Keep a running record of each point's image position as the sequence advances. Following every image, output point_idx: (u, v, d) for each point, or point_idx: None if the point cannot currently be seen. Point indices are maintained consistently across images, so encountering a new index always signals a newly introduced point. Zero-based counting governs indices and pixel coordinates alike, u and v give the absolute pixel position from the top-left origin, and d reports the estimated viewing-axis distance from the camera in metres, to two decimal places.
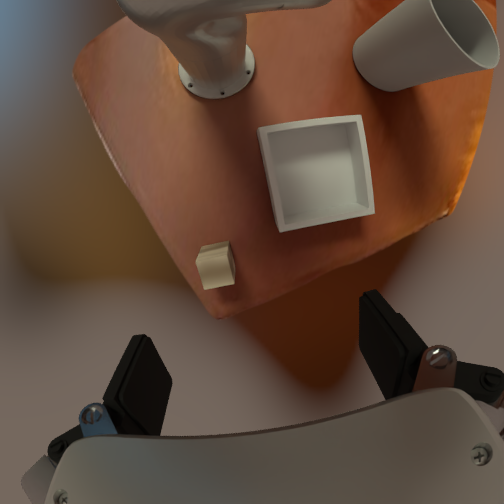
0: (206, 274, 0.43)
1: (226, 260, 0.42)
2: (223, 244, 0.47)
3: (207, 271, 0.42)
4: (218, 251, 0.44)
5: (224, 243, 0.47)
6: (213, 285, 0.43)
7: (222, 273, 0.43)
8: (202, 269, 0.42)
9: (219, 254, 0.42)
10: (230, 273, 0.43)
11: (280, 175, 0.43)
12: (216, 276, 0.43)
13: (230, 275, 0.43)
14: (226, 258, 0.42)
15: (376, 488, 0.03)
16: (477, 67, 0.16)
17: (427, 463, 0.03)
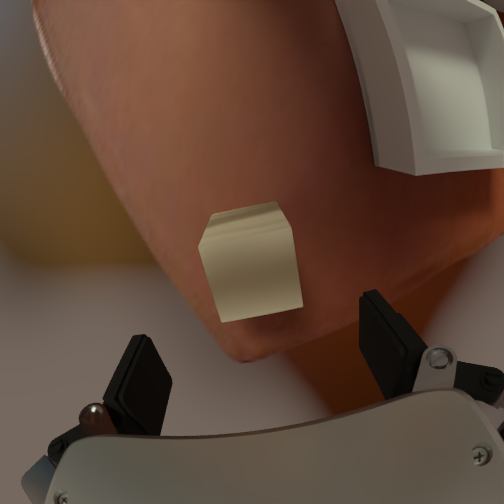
0: (228, 284, 0.15)
1: (288, 243, 0.14)
2: (265, 208, 0.19)
3: (230, 274, 0.15)
4: (259, 220, 0.17)
5: (267, 205, 0.20)
6: (246, 313, 0.16)
7: (275, 279, 0.15)
8: (217, 268, 0.15)
9: (265, 227, 0.15)
10: (296, 280, 0.15)
11: None
12: (257, 287, 0.15)
13: (295, 285, 0.15)
14: (289, 237, 0.14)
15: (376, 488, 0.03)
16: None
17: (427, 463, 0.03)
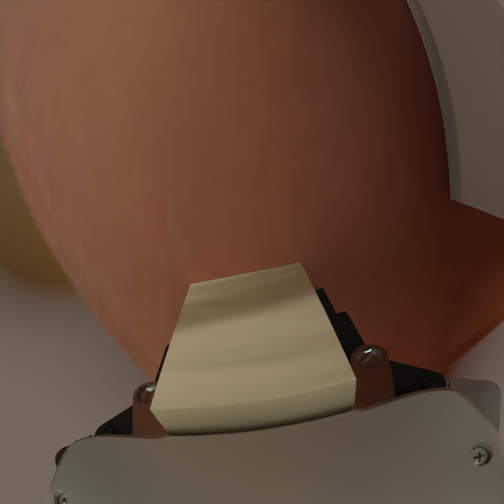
0: None
1: (344, 403, 0.06)
2: (286, 283, 0.10)
3: None
4: (277, 330, 0.08)
5: (287, 275, 0.11)
6: None
7: None
8: None
9: (294, 367, 0.06)
10: None
11: None
12: None
13: None
14: (347, 394, 0.06)
15: (376, 488, 0.03)
16: None
17: (427, 463, 0.03)
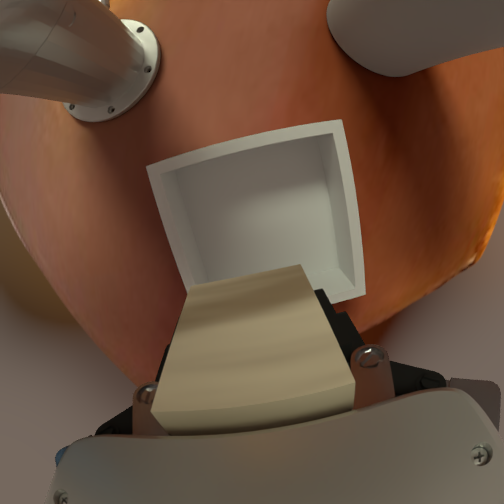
0: None
1: (343, 405, 0.06)
2: (285, 285, 0.10)
3: None
4: (277, 333, 0.08)
5: (287, 277, 0.11)
6: None
7: None
8: None
9: (293, 369, 0.06)
10: None
11: (207, 234, 0.27)
12: None
13: None
14: (346, 397, 0.06)
15: (376, 488, 0.03)
16: None
17: (427, 463, 0.03)
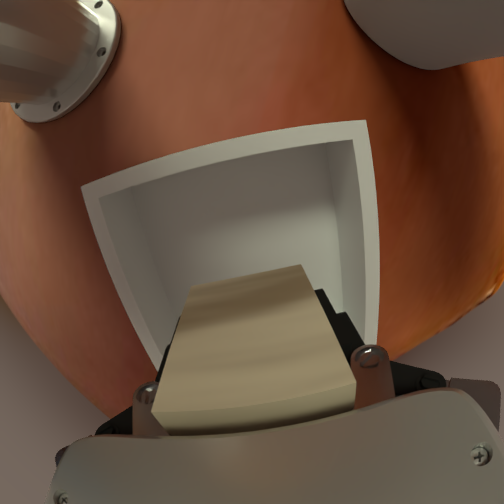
0: None
1: (344, 405, 0.06)
2: (286, 285, 0.10)
3: None
4: (278, 333, 0.08)
5: (287, 277, 0.11)
6: None
7: None
8: None
9: (294, 370, 0.06)
10: None
11: (173, 270, 0.20)
12: None
13: None
14: (347, 397, 0.06)
15: (376, 488, 0.03)
16: None
17: (427, 463, 0.03)
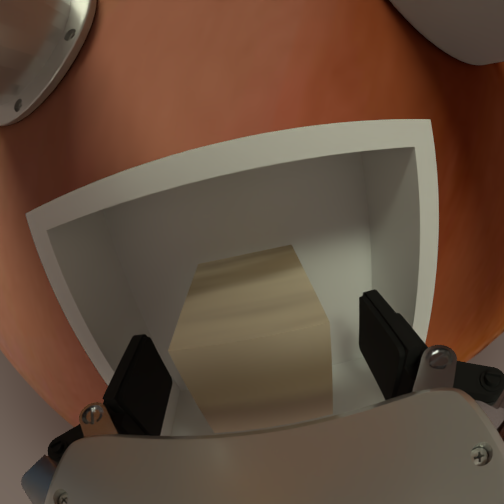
0: (221, 397, 0.09)
1: (322, 345, 0.08)
2: (278, 260, 0.13)
3: (225, 386, 0.08)
4: (270, 292, 0.10)
5: (279, 254, 0.13)
6: (249, 425, 0.09)
7: (295, 390, 0.09)
8: (203, 379, 0.08)
9: (281, 315, 0.09)
10: (327, 388, 0.09)
11: (159, 312, 0.15)
12: (268, 400, 0.09)
13: (325, 394, 0.09)
14: (324, 336, 0.08)
15: (376, 488, 0.03)
16: None
17: (427, 463, 0.03)
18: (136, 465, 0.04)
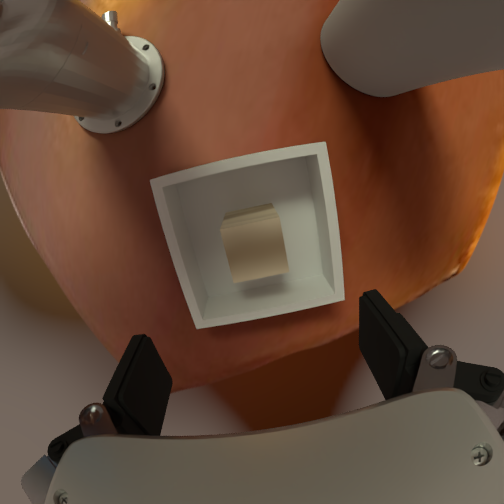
0: (238, 255, 0.23)
1: (278, 227, 0.23)
2: (264, 207, 0.27)
3: (240, 247, 0.23)
4: (259, 214, 0.25)
5: (265, 206, 0.28)
6: (250, 276, 0.24)
7: (269, 252, 0.23)
8: (232, 243, 0.23)
9: (262, 218, 0.23)
10: (283, 252, 0.23)
11: (202, 241, 0.30)
12: (258, 257, 0.23)
13: (283, 256, 0.23)
14: (278, 223, 0.23)
15: (376, 488, 0.03)
16: None
17: (427, 463, 0.03)
18: (136, 465, 0.04)
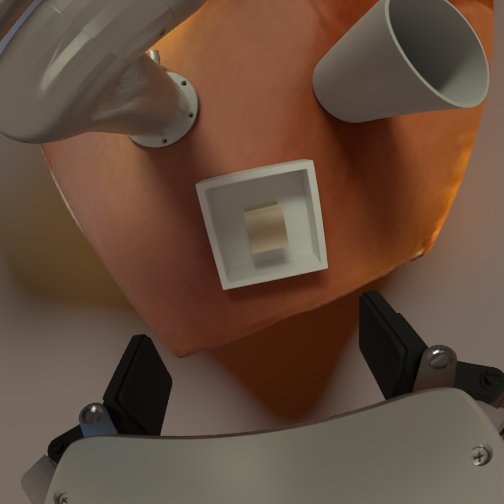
0: (256, 234, 0.36)
1: (281, 216, 0.35)
2: (271, 203, 0.40)
3: (257, 229, 0.36)
4: (269, 208, 0.37)
5: (272, 202, 0.40)
6: (263, 248, 0.37)
7: (276, 232, 0.36)
8: (252, 227, 0.36)
9: (271, 210, 0.36)
10: (285, 232, 0.36)
11: (227, 227, 0.43)
12: (268, 236, 0.36)
13: (285, 235, 0.36)
14: (281, 214, 0.35)
15: (376, 488, 0.03)
16: (453, 107, 0.15)
17: (427, 463, 0.03)
18: (136, 465, 0.04)
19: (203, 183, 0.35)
